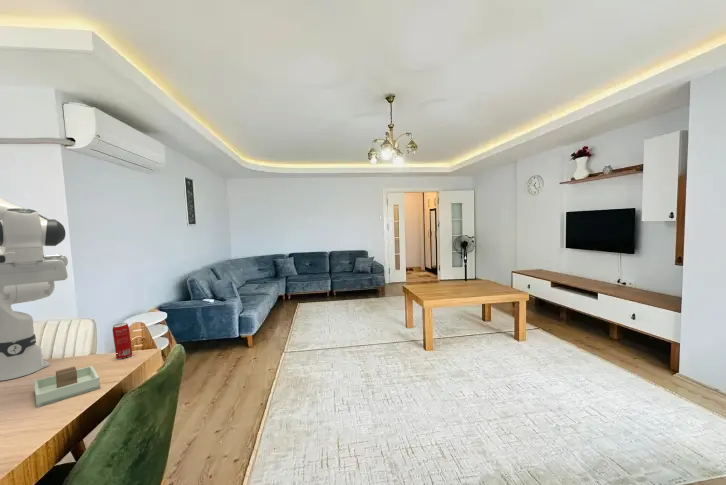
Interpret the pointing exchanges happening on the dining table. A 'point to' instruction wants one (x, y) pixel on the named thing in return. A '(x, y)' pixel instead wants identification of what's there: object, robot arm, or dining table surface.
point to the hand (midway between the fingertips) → (27, 297)
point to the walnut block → (66, 377)
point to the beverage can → (122, 340)
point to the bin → (65, 387)
